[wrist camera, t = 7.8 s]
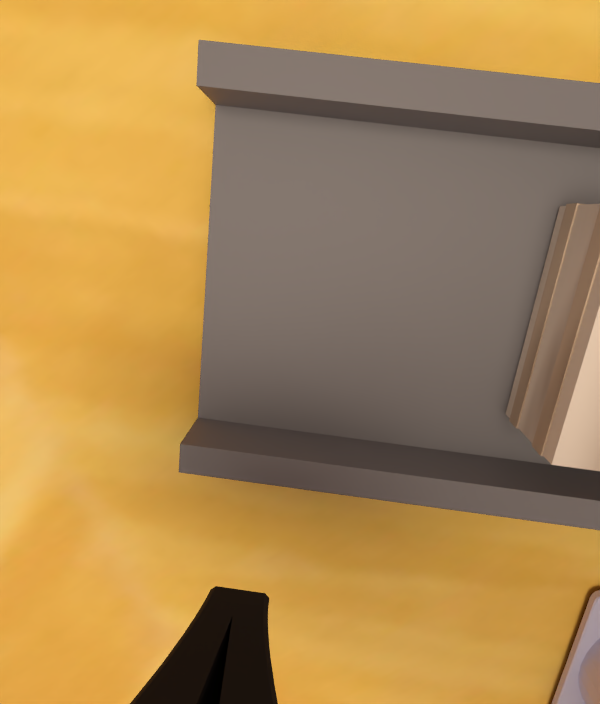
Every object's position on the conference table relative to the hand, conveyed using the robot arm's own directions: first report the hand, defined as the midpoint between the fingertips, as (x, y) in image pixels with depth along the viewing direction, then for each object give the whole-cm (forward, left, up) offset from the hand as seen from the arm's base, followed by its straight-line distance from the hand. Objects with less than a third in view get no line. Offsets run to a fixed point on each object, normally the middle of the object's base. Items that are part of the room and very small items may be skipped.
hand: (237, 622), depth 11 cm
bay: (-7, -7, -9) cm, 14 cm away
